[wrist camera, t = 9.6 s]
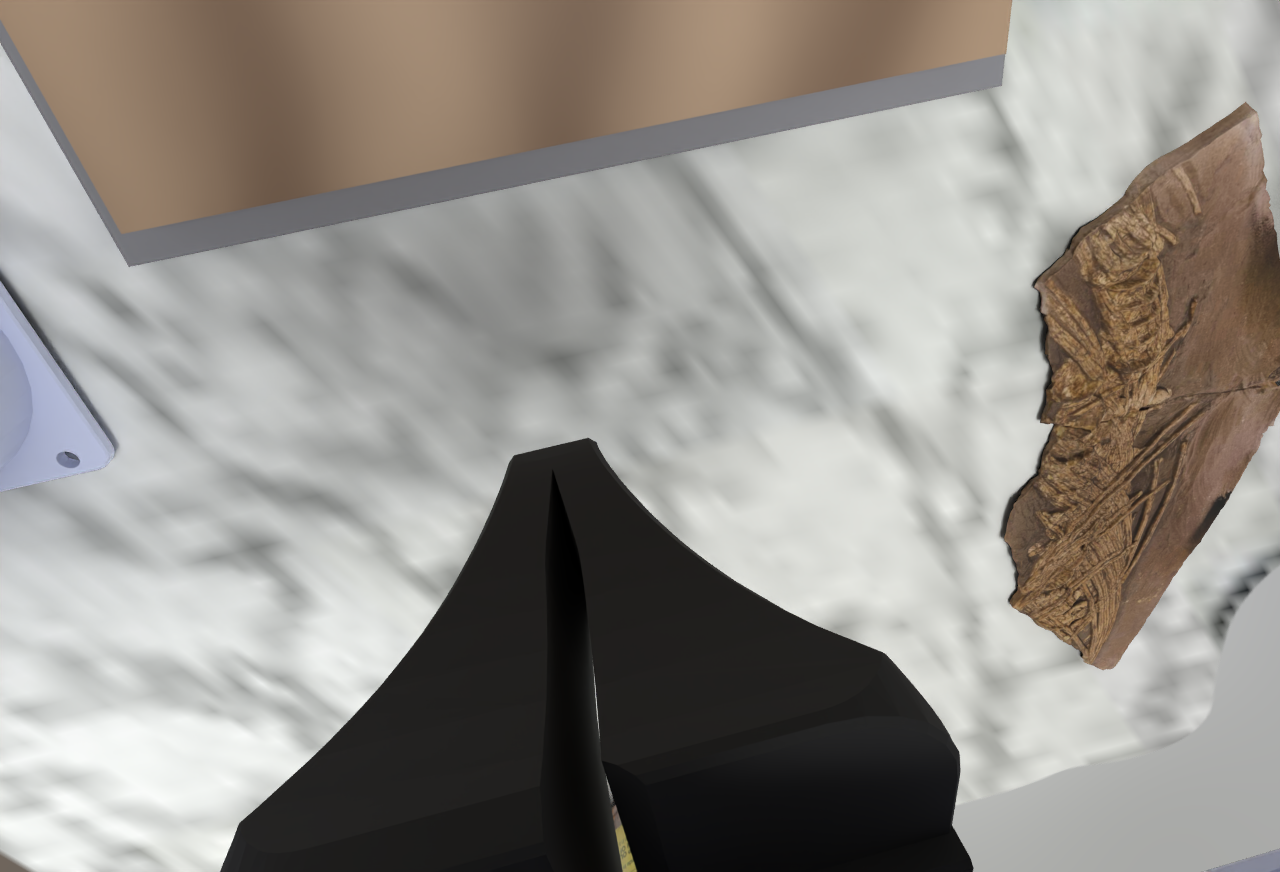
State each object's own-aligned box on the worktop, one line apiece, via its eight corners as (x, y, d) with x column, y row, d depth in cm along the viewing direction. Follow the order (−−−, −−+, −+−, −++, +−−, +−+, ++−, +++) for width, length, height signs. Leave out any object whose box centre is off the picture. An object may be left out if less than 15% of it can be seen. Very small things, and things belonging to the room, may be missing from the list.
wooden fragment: (1046, 149, 20) (1071, 156, 19) (1389, 65, 21) (1429, 68, 20) (972, 699, 34) (986, 718, 34) (1179, 638, 35) (1197, 655, 34)
